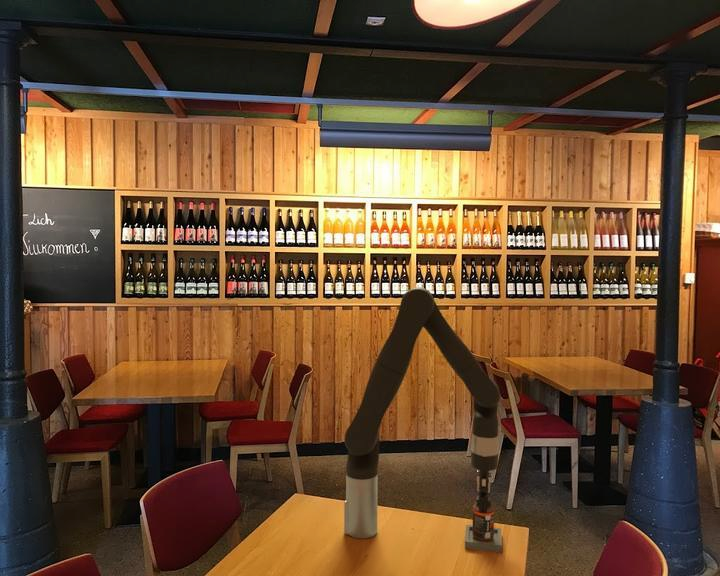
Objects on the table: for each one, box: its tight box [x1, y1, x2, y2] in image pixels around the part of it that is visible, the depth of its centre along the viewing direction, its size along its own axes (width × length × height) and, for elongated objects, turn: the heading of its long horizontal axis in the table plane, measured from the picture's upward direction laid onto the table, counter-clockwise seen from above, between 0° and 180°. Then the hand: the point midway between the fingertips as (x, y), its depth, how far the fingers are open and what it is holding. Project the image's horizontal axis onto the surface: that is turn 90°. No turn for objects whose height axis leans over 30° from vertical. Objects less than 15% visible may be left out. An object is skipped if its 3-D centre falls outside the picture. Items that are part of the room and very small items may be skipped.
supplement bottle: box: [472, 496, 495, 541], centre depth 157 cm, size 6×6×11 cm
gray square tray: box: [464, 524, 503, 553], centre depth 158 cm, size 10×10×2 cm
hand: (482, 506), depth 157 cm, fingers open, 8 cm apart
